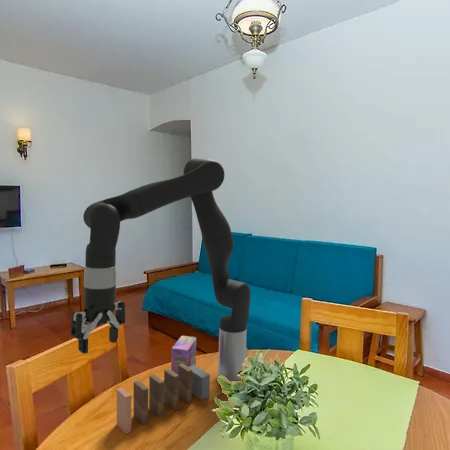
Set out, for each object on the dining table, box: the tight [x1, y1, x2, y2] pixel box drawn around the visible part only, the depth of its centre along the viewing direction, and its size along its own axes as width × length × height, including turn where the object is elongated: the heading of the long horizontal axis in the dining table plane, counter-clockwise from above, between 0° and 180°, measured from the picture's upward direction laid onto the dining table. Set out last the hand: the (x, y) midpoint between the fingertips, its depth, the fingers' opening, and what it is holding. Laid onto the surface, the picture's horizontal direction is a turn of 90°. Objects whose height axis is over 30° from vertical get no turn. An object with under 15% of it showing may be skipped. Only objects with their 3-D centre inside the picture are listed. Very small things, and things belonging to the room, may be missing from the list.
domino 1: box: [133, 380, 149, 426], centre depth 97 cm, size 2×5×10 cm, turn 44°
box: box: [170, 335, 197, 374], centre depth 121 cm, size 10×6×12 cm, turn 168°
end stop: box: [189, 365, 211, 401], centre depth 111 cm, size 3×8×7 cm, turn 44°
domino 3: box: [163, 368, 179, 411], centre depth 104 cm, size 2×5×10 cm, turn 44°
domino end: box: [116, 386, 132, 435], centre depth 94 cm, size 2×5×10 cm, turn 44°
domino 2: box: [148, 374, 165, 418], centre depth 101 cm, size 2×5×10 cm, turn 44°
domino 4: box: [178, 363, 193, 404], centre depth 108 cm, size 2×5×10 cm, turn 44°
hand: (99, 347), depth 89 cm, fingers open, 8 cm apart
